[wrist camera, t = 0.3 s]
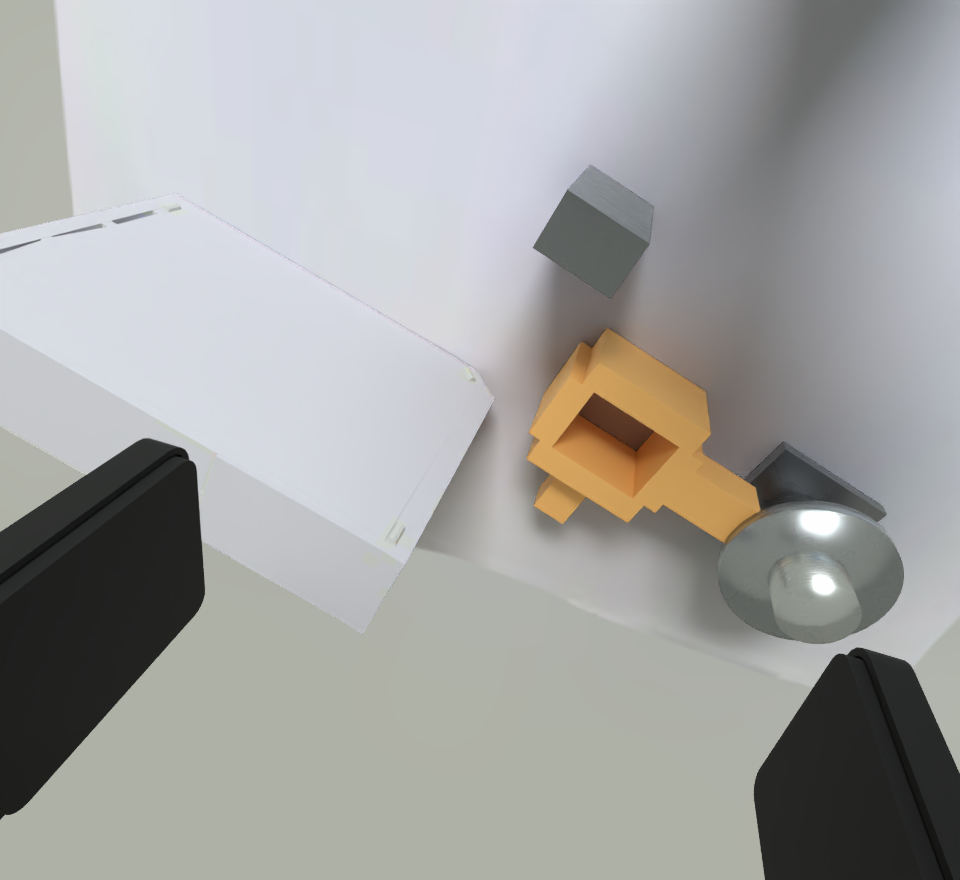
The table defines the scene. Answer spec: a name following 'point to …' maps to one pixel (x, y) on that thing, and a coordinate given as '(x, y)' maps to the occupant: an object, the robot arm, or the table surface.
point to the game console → (236, 390)
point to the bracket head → (618, 468)
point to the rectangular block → (598, 231)
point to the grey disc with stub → (809, 555)
